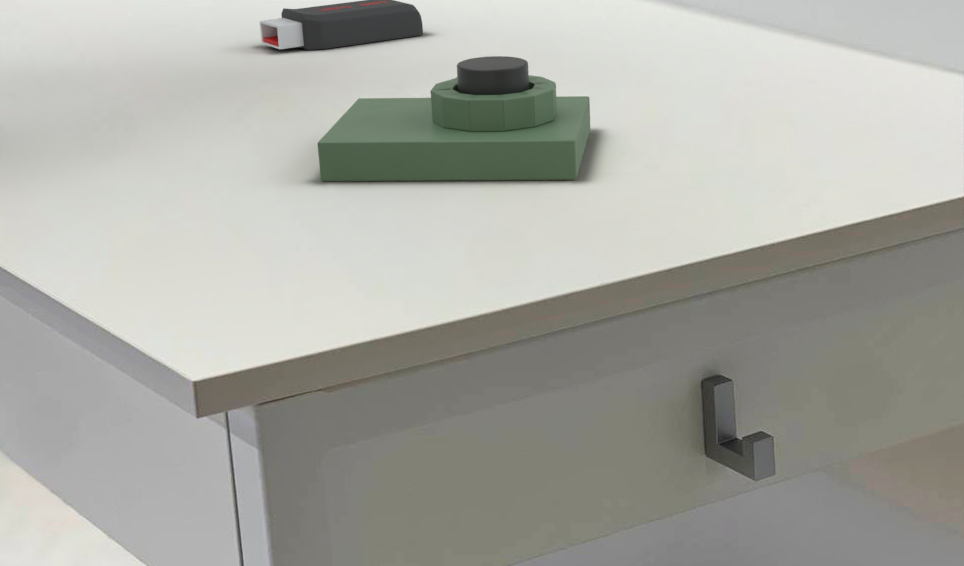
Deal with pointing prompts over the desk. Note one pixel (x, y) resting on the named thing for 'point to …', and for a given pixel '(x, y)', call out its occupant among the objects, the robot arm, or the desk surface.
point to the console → (459, 137)
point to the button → (492, 75)
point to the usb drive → (342, 25)
